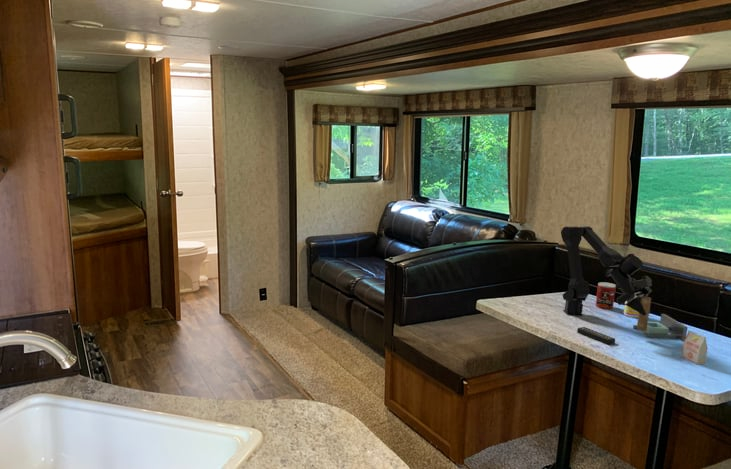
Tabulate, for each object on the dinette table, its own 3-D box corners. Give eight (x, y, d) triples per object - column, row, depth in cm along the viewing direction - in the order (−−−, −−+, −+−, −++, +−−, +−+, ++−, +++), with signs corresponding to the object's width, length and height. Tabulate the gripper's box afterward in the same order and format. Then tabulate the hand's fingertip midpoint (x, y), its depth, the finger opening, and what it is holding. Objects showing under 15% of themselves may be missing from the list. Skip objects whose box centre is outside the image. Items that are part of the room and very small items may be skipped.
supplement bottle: (642, 318, 246) (646, 290, 244) (627, 317, 246) (631, 289, 244) (635, 313, 253) (639, 286, 250) (620, 313, 253) (624, 285, 250)
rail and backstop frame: (649, 340, 219) (652, 325, 217) (629, 326, 234) (631, 312, 233) (685, 341, 219) (687, 327, 218) (662, 327, 235) (664, 314, 234)
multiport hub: (607, 346, 211) (608, 340, 210) (576, 333, 223) (577, 328, 223) (615, 344, 213) (616, 338, 213) (583, 332, 225) (584, 326, 225)
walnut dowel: (639, 330, 217) (644, 298, 214) (634, 327, 220) (639, 296, 218) (648, 331, 217) (653, 299, 215) (643, 328, 220) (648, 296, 218)
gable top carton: (689, 356, 204) (693, 330, 202) (705, 363, 197) (709, 337, 196) (681, 357, 203) (685, 330, 201) (696, 364, 196) (701, 337, 195)
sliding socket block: (648, 336, 222) (649, 327, 222) (638, 329, 230) (639, 321, 230) (667, 337, 223) (669, 328, 222) (656, 330, 231) (658, 322, 230)
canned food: (594, 307, 259) (597, 284, 257) (596, 303, 266) (599, 281, 264) (612, 310, 256) (615, 287, 254) (613, 306, 263) (616, 283, 261)
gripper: (628, 272, 211) (654, 308, 205) (650, 266, 223) (675, 300, 217) (606, 287, 219) (630, 322, 212) (628, 281, 231) (651, 314, 224)
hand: (647, 314), depth 216 cm, fingers closed on walnut dowel, 3 cm apart
